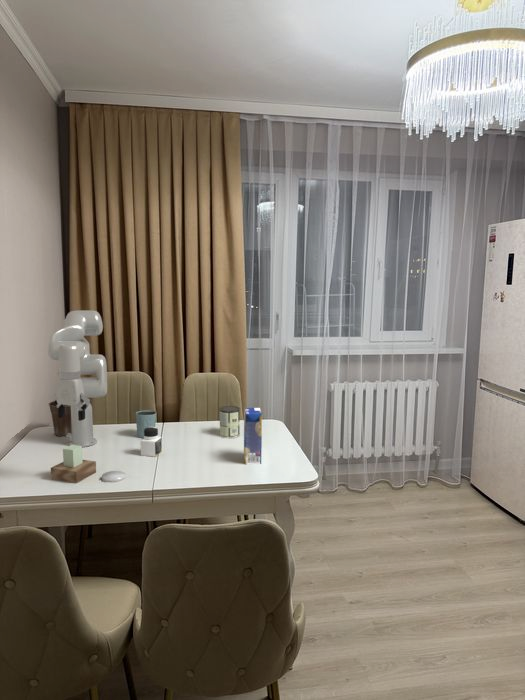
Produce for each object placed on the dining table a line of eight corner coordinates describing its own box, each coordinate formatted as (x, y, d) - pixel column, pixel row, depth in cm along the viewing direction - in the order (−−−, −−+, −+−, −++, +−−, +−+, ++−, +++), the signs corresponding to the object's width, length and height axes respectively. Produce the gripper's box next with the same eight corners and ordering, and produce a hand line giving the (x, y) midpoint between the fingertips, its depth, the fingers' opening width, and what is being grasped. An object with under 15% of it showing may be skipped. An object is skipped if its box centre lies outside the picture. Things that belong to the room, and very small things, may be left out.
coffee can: (227, 431, 267) (227, 404, 265) (243, 434, 262) (243, 407, 260) (215, 436, 258) (215, 408, 256) (232, 439, 253) (232, 411, 251)
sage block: (63, 465, 202) (62, 448, 201) (72, 461, 207) (71, 444, 206) (73, 467, 201) (72, 450, 200) (82, 463, 205) (81, 446, 204)
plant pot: (47, 431, 263) (46, 400, 261) (80, 427, 271) (79, 397, 269) (52, 440, 249) (51, 407, 247) (87, 435, 257) (86, 404, 255)
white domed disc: (97, 481, 200) (97, 477, 199) (110, 473, 208) (110, 469, 208) (117, 484, 197) (117, 480, 197) (129, 475, 206) (129, 472, 205)
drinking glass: (132, 435, 257) (131, 412, 255) (148, 431, 265) (148, 408, 263) (144, 440, 250) (143, 416, 249) (160, 435, 258) (160, 412, 256)
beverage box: (258, 455, 231) (259, 407, 228) (261, 464, 220) (261, 414, 217) (243, 455, 230) (244, 407, 227) (245, 464, 219) (245, 414, 216)
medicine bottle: (155, 457, 227) (155, 430, 225) (140, 455, 228) (140, 429, 227) (161, 451, 234) (161, 426, 232) (147, 450, 235) (146, 425, 234)
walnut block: (51, 480, 201) (50, 467, 200) (71, 469, 212) (71, 457, 211) (76, 484, 197) (76, 471, 196) (96, 473, 208) (95, 461, 208)
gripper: (45, 375, 199) (47, 418, 201) (81, 379, 193) (83, 423, 195) (59, 372, 205) (61, 413, 208) (94, 375, 200) (96, 418, 202)
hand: (71, 418), depth 202 cm, fingers open, 9 cm apart
